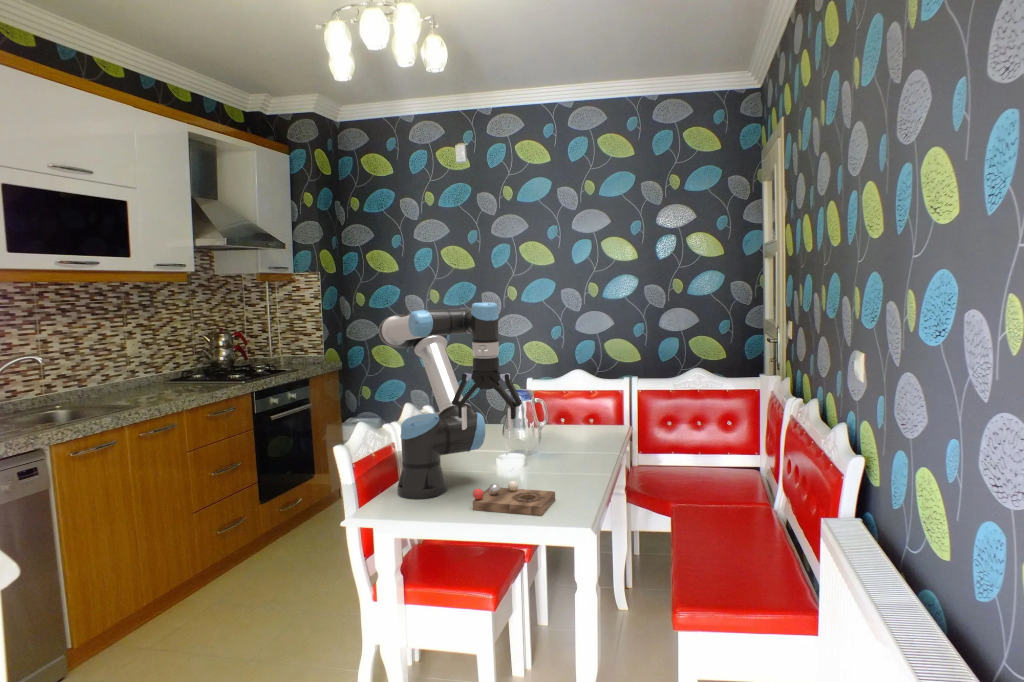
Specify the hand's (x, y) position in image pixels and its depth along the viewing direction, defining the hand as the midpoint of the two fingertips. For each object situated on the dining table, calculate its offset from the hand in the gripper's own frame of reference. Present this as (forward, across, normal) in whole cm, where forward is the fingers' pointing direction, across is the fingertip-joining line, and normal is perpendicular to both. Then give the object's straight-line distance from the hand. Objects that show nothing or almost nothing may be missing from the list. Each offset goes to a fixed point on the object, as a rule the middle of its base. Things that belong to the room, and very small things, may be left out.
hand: (487, 429), depth 195 cm
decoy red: (+17, -1, -8) cm, 18 cm away
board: (+21, +8, -4) cm, 23 cm away
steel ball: (+17, +2, -3) cm, 17 cm away
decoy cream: (+17, +7, +1) cm, 18 cm away
